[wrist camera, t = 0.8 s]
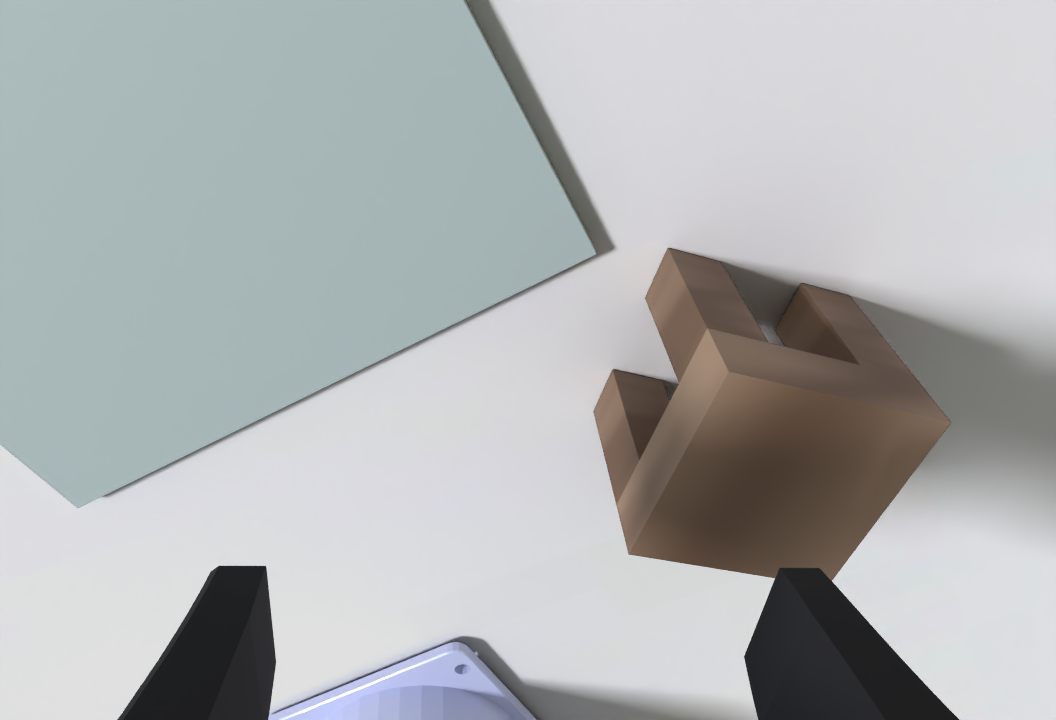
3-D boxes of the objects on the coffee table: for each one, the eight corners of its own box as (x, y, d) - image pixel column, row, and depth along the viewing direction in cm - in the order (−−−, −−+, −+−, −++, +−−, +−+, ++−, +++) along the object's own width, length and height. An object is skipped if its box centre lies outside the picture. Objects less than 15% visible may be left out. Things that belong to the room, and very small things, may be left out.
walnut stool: (850, 295, 21) (951, 422, 17) (759, 445, 23) (827, 586, 19) (667, 248, 20) (728, 371, 15) (593, 411, 22) (628, 554, 18)
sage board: (592, 244, 19) (596, 253, 19) (84, 494, 22) (77, 508, 22) (135, -632, 11) (122, -649, 11) (-573, -58, 14) (-603, -52, 14)
